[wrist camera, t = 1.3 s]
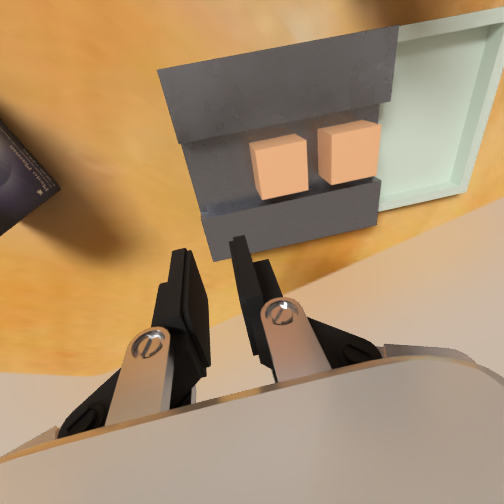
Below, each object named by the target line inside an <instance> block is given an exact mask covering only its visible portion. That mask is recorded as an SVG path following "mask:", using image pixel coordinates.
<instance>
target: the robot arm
mask: <svg viewBox="0 0 504 504" xmlns="http://www.w3.org/2000/svg"><path fill="white" fill-rule="evenodd" d="M229 247H230V252H231V257H232V263H233V268H234V274H235V279H236V285H237V290H238V295H239V300H240V305H241V309H242V313H243V317H244V320H245V325H246V329H247V332H248V337H249V340H250V344H251V348H252V352H253V355H254V356H255V355H259V358H260V362H261V364H263V365H265V366H267V367H269V368H270V369H271V370H272V375H273V378H274V381H275V383H274V384H270V385H266V386H262V387H258V388H254V389H250V390H246V391H242V392H238V393H234V394H230V395H226V396H222V397H219V398H214V399H210V400H206V401H202V402H199V403H196V386H195V384H196V383H197V382H198V381H199V380H200V378H202V377H206V375H207V374H206V367H210V366H211V357H210V334H209V309H208V298H207V294H206V291H205V289H204V286H203V283H202V280H201V277H200V274H199V271H198V268H197V265H196V262H195V259H194V256H193V253H192V251H191V250H189V251H187V249H186V248H183V249H178V250H174V251H172V257H171V263H170V270H169V276H168V282H165V283H161V284H160V285H159V288H158V293H157V298H156V304H155V309H154V314H153V319H152V325H151V328H148V329H145V330H144V331H142V332H140V333H139V334H137V335H136V336H135V337H134V338H133V339H132V340H131V342H130V343H129V345H128V347H127V350H126V353H125V357H124V360H123V364H122V367H121V368H120V369H119V370H118V371H117V372H116V373H115V374H113V375H112V376H111V377H110V378H109V379H108V380H107V381H106V382H105V383H104V384H102V385H101V386H100V387H99V388H98V389H97V390H96V391H95V392H94V393H93V394H92V395H91V396H89V397H88V398H87V399H86V400H85V401H84V402H83V403H82V404H81V405H79V406H78V407H77V408H76V409H75V410H74V411H73V412H72V413H71V414H70V415H69V416H68V418H66V420H65V422H64V423H63V425H62V426H61V427H60V428H58V427H57V426H55V427H53V428H51V429H49V430H47V431H46V432H44V433H42V434H41V435H39V436H37V437H35V438H33V439H32V440H30V441H28V442H26V443H25V444H23V445H21V446H19V447H17V448H16V449H14V450H12V451H10V452H9V453H7V454H5V455H3V456H1V457H0V504H504V378H503V377H502V376H500V375H499V374H497V373H495V372H493V371H492V370H490V369H488V368H486V367H484V366H481V365H478V364H476V363H475V361H474V360H472V359H471V358H470V357H468V356H467V355H466V354H464V353H462V352H459V351H457V350H454V349H449V348H438V347H423V346H408V345H394V344H384V347H376V346H375V345H373V344H372V343H371V342H369V341H367V340H365V339H363V338H360V337H358V336H355V335H353V334H350V333H348V332H345V331H342V330H340V329H337V328H335V327H332V326H329V325H327V324H324V323H321V322H319V321H316V320H314V319H311V318H309V317H306V315H305V313H304V310H303V308H302V307H301V305H300V304H299V303H298V302H297V301H295V300H294V299H291V298H286V297H283V295H282V293H281V290H280V288H279V285H278V282H277V280H276V277H275V275H274V272H273V270H272V267H271V264H270V262H269V260H268V259H266V260H262V261H257V262H253V261H252V258H251V255H250V251H249V248H248V244H247V241H246V238H245V235H241V236H237V237H233V241H229Z"/></svg>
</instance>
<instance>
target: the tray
mask: <svg viewBox="0 0 504 504" xmlns="http://www.w3.org/2000/svg"><path fill="white" fill-rule="evenodd" d="M503 68H504V7H499V8H494V9H488V10H483V11H478V12H472V13H467V14H462V15H456V16H451V17H446V18H440V19H435V20H430V21H424V22H419V23H413V24H408V25H403V26H399V33H398V41H397V50H396V59H395V68H394V77H393V85H392V94H391V101H390V102H385V103H380V107H379V118H378V124H381V125H382V126H381V135H380V145H379V155H378V165H377V175H376V176H375V177H376V178H378V179H380V180H382V182H381V191H380V200H379V208H378V212H380V211H384V210H389V209H393V208H398V207H402V206H407V205H411V204H416V203H420V202H424V201H429V200H433V199H438V198H442V197H447V196H451V195H456V194H460V193H465V192H466V191H467V188H468V184H469V181H470V178H471V174H472V171H473V168H474V164H475V161H476V158H477V154H478V151H479V148H480V144H481V141H482V138H483V134H484V131H485V128H486V124H487V121H488V118H489V114H490V111H491V108H492V104H493V101H494V98H495V94H496V91H497V88H498V84H499V81H500V78H501V74H502V71H503Z"/></svg>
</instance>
